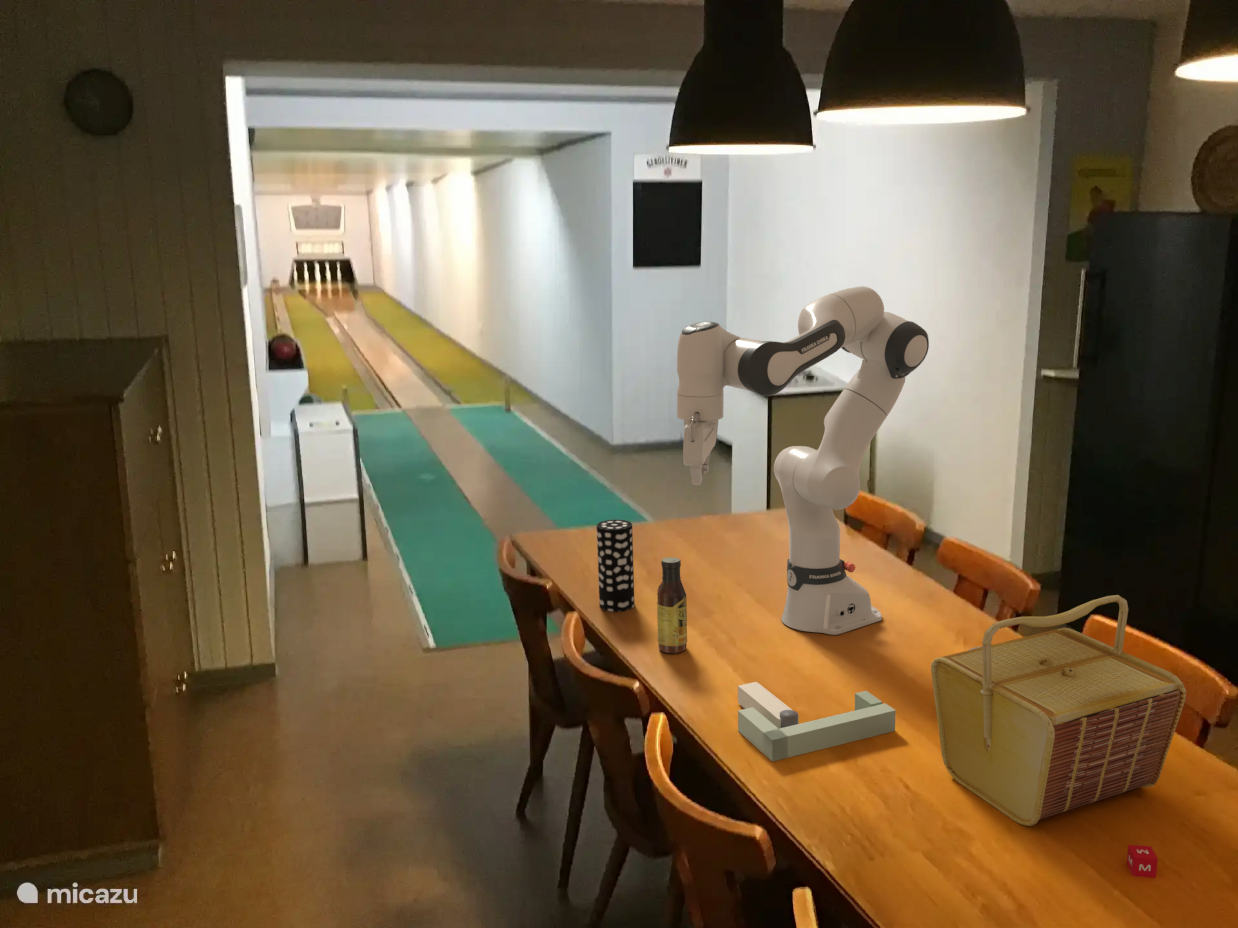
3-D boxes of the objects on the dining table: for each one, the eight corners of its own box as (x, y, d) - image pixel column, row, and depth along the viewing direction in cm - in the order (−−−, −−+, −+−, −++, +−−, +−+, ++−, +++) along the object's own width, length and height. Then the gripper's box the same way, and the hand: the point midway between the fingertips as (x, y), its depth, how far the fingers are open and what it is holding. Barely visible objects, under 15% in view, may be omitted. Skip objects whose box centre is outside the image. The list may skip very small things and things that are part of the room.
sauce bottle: (685, 655, 223) (683, 565, 219) (655, 654, 225) (653, 564, 220) (689, 643, 230) (687, 555, 225) (660, 641, 231) (658, 554, 226)
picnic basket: (1037, 849, 154) (1050, 656, 147) (920, 767, 177) (926, 597, 170) (1181, 800, 165) (1200, 619, 158) (1054, 729, 188) (1065, 568, 181)
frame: (855, 703, 200) (856, 683, 199) (894, 730, 189) (895, 710, 188) (738, 730, 191) (738, 710, 190) (772, 761, 180) (772, 739, 179)
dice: (1132, 876, 147) (1134, 856, 146) (1126, 863, 150) (1128, 844, 149) (1155, 877, 147) (1157, 858, 146) (1149, 864, 149) (1150, 845, 149)
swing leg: (803, 738, 188) (803, 715, 187) (783, 743, 186) (783, 719, 185) (756, 700, 203) (756, 678, 201) (738, 704, 201) (737, 682, 200)
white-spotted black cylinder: (594, 609, 251) (590, 528, 246) (607, 597, 258) (604, 518, 254) (626, 613, 248) (624, 531, 243) (639, 601, 255) (637, 521, 251)
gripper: (709, 418, 193) (709, 492, 196) (723, 399, 212) (722, 467, 215) (674, 418, 194) (675, 491, 197) (691, 399, 214) (691, 466, 217)
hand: (700, 478), depth 206 cm, fingers open, 8 cm apart
